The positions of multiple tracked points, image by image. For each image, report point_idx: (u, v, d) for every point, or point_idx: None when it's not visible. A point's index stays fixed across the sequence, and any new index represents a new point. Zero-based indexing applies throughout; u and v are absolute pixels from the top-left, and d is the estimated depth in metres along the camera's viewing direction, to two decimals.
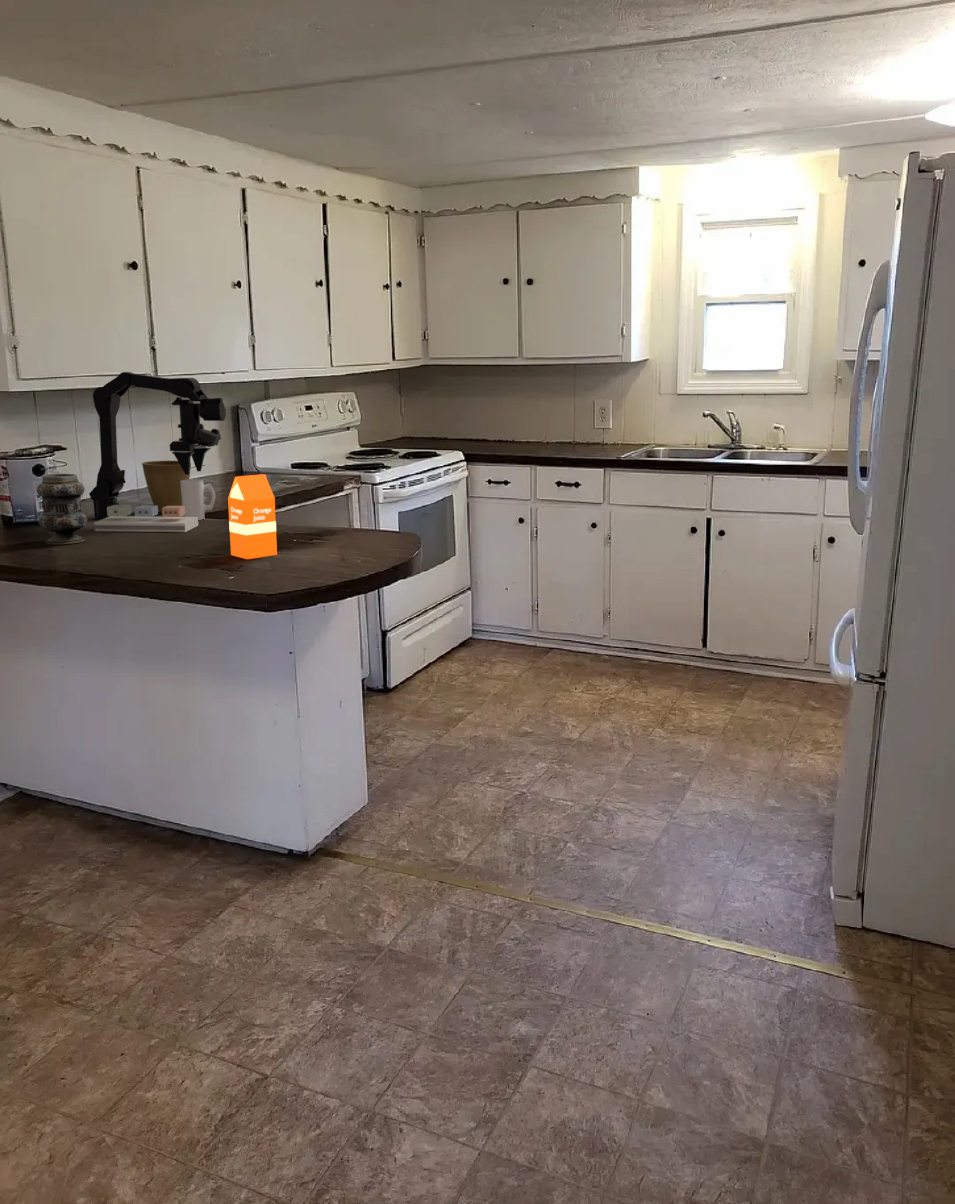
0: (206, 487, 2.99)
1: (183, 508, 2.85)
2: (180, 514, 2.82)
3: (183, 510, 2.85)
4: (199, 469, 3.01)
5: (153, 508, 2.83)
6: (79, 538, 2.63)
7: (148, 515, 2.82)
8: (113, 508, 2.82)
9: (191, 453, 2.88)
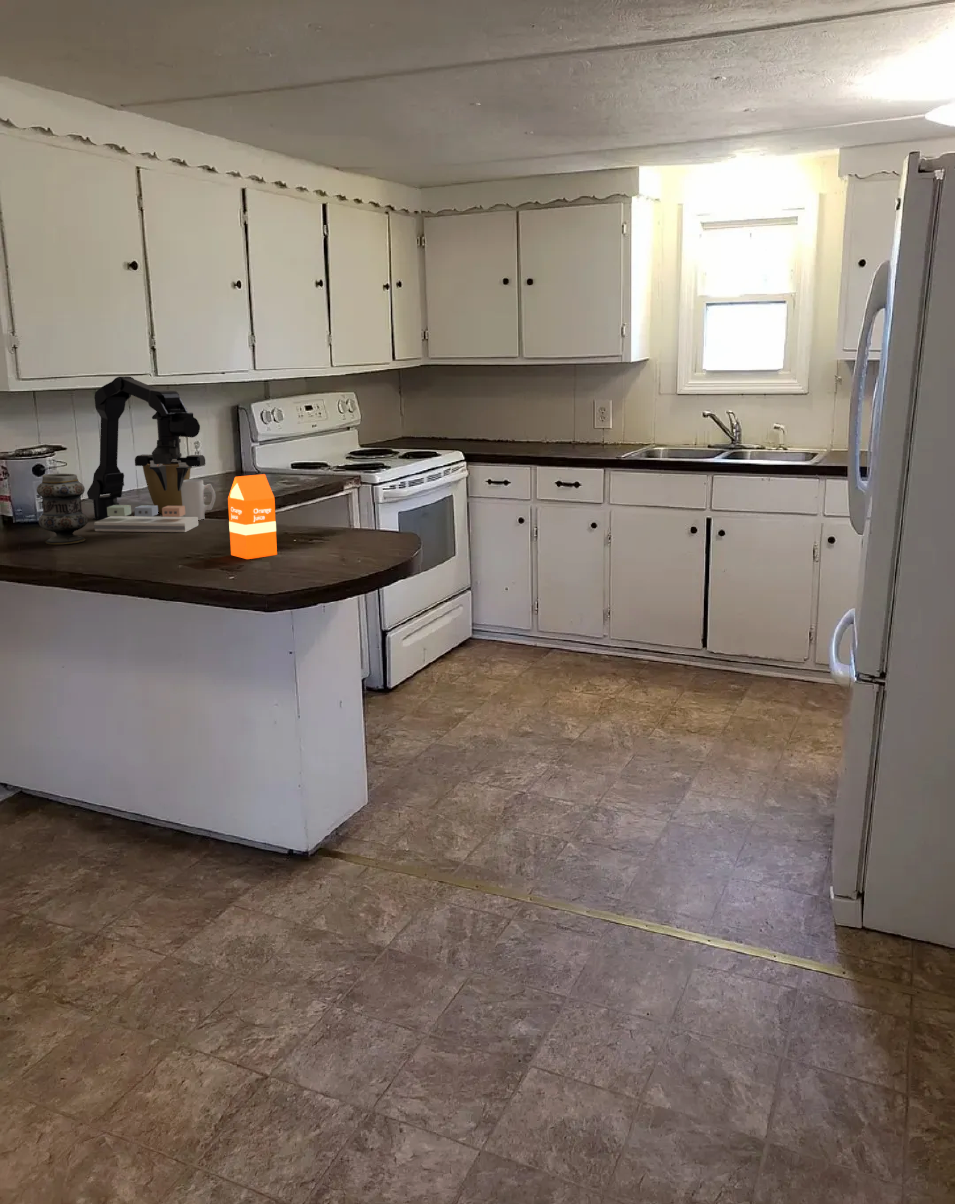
0: (206, 487, 2.99)
1: (183, 508, 2.85)
2: (180, 514, 2.82)
3: (183, 510, 2.85)
4: None
5: (153, 508, 2.83)
6: (79, 538, 2.63)
7: (148, 515, 2.82)
8: (113, 508, 2.82)
9: (152, 468, 2.78)
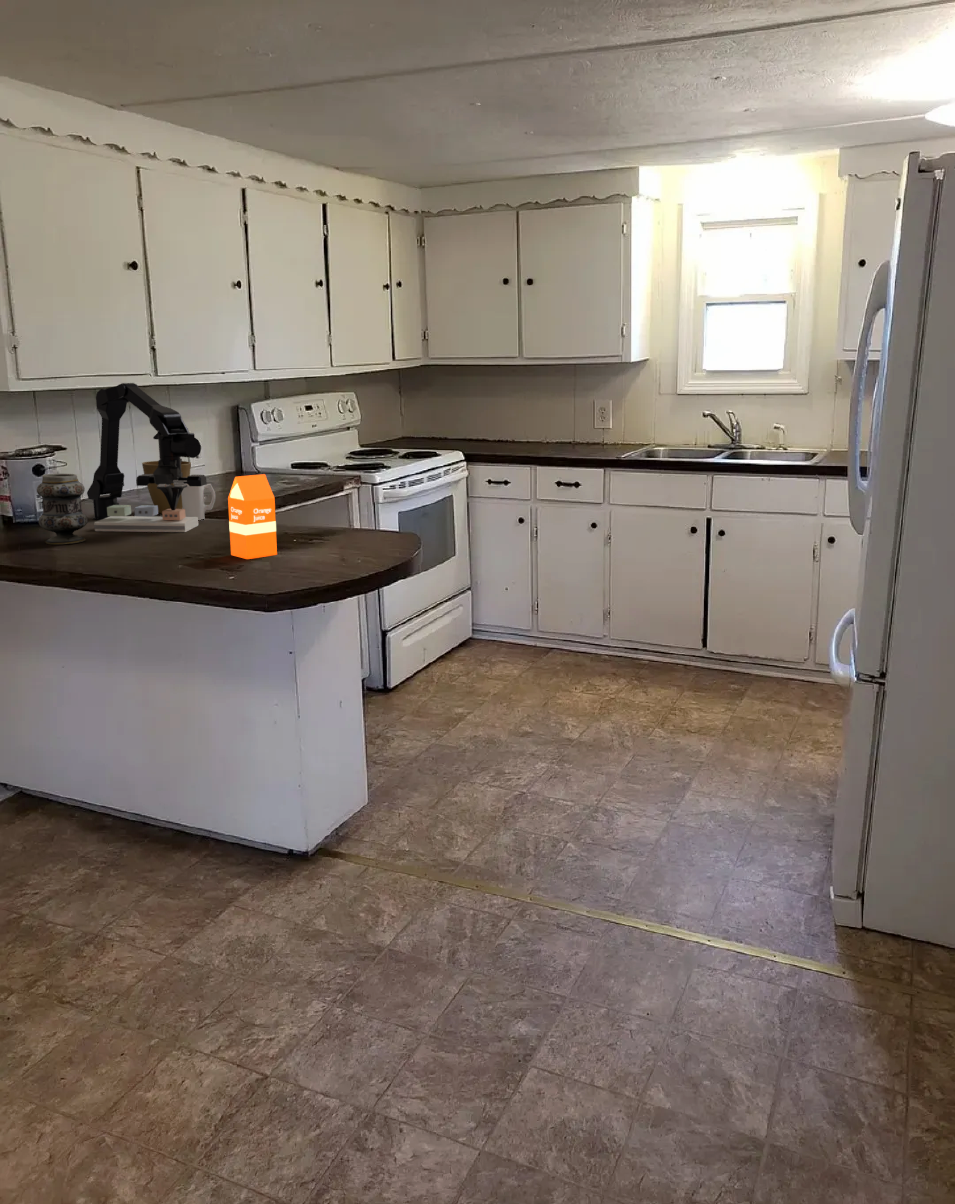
0: (206, 487, 2.99)
1: (183, 511, 2.85)
2: (180, 517, 2.82)
3: (183, 514, 2.85)
4: None
5: (153, 508, 2.83)
6: (79, 538, 2.63)
7: (148, 515, 2.82)
8: (113, 508, 2.82)
9: (159, 488, 2.80)
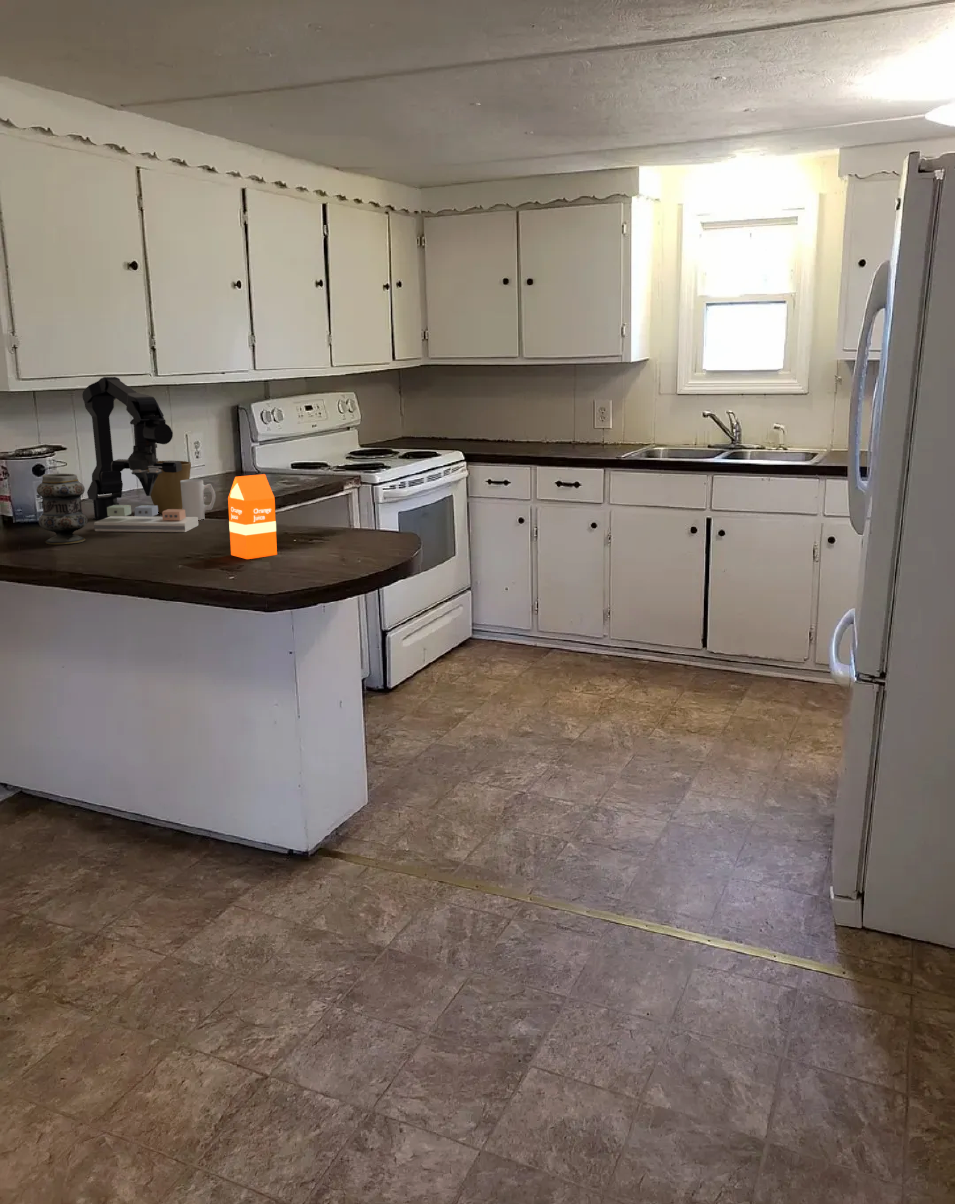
0: (206, 487, 2.99)
1: (183, 512, 2.85)
2: (180, 518, 2.82)
3: (183, 514, 2.85)
4: None
5: (153, 508, 2.83)
6: (79, 538, 2.63)
7: (148, 515, 2.82)
8: (113, 508, 2.82)
9: (134, 474, 2.79)
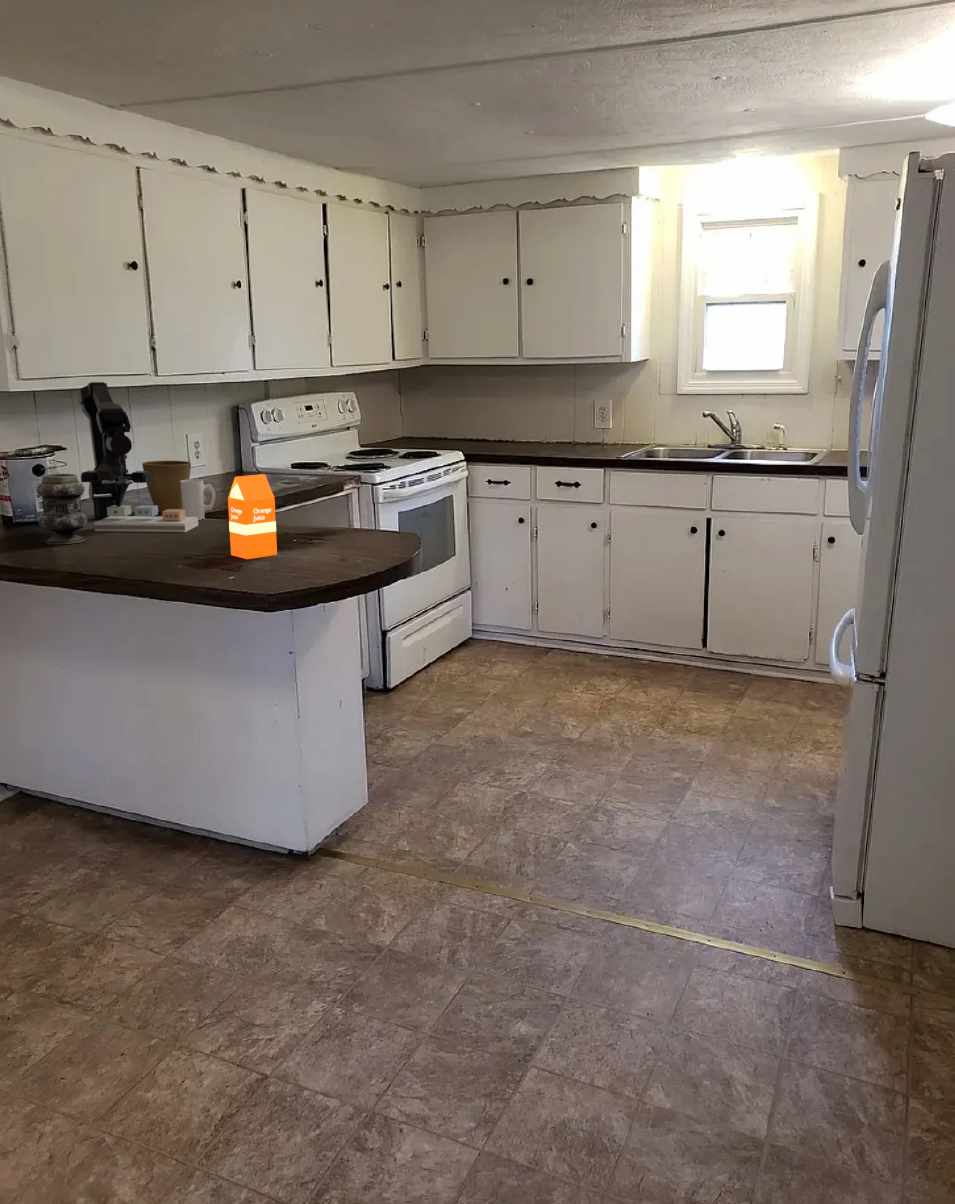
0: (206, 487, 2.99)
1: (183, 512, 2.85)
2: (180, 518, 2.82)
3: (183, 514, 2.85)
4: None
5: (153, 508, 2.83)
6: (79, 538, 2.63)
7: (148, 515, 2.82)
8: (113, 508, 2.82)
9: (103, 485, 2.80)
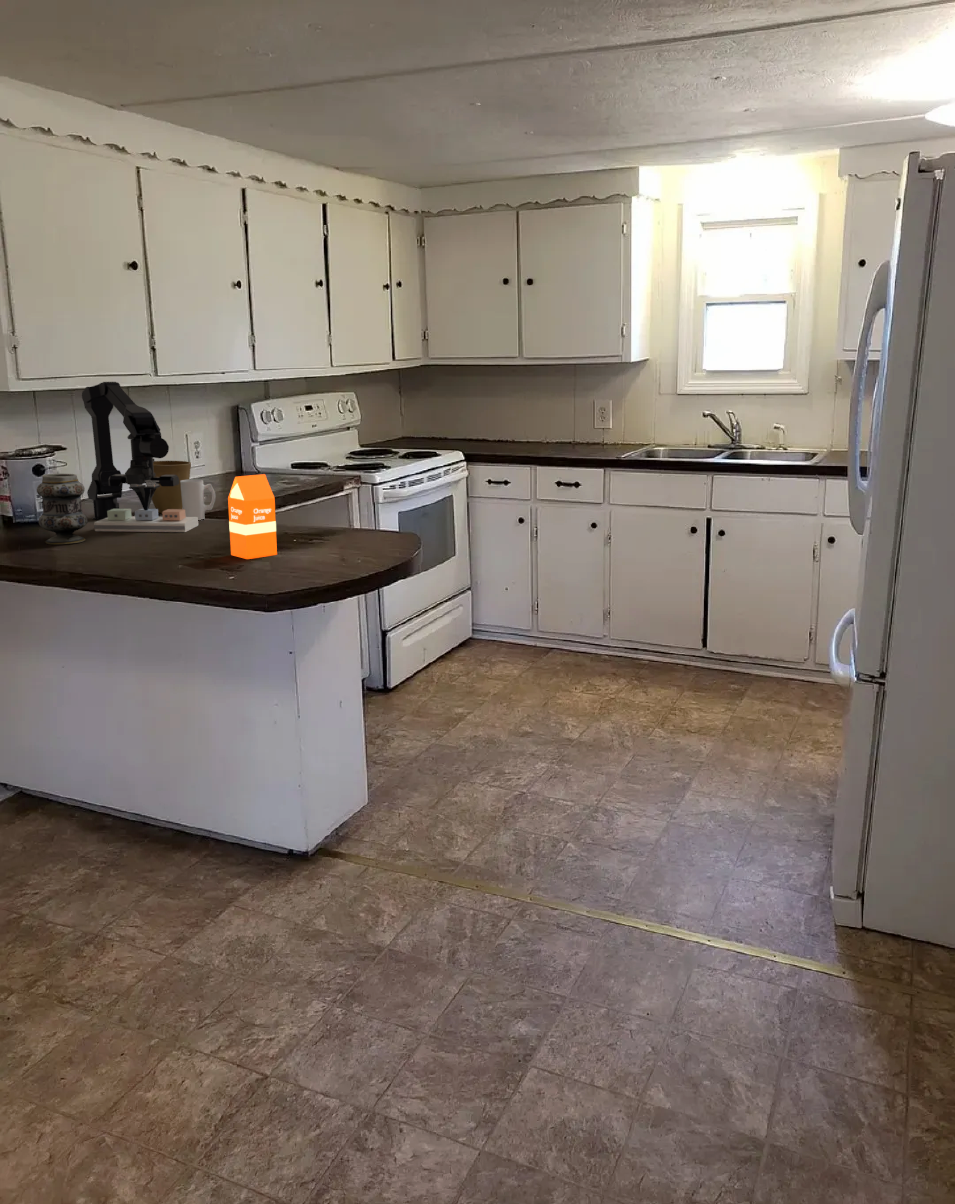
0: (206, 487, 2.99)
1: (183, 512, 2.85)
2: (180, 518, 2.82)
3: (183, 514, 2.85)
4: None
5: (153, 511, 2.83)
6: (79, 538, 2.63)
7: (148, 518, 2.82)
8: (113, 512, 2.82)
9: (131, 488, 2.80)
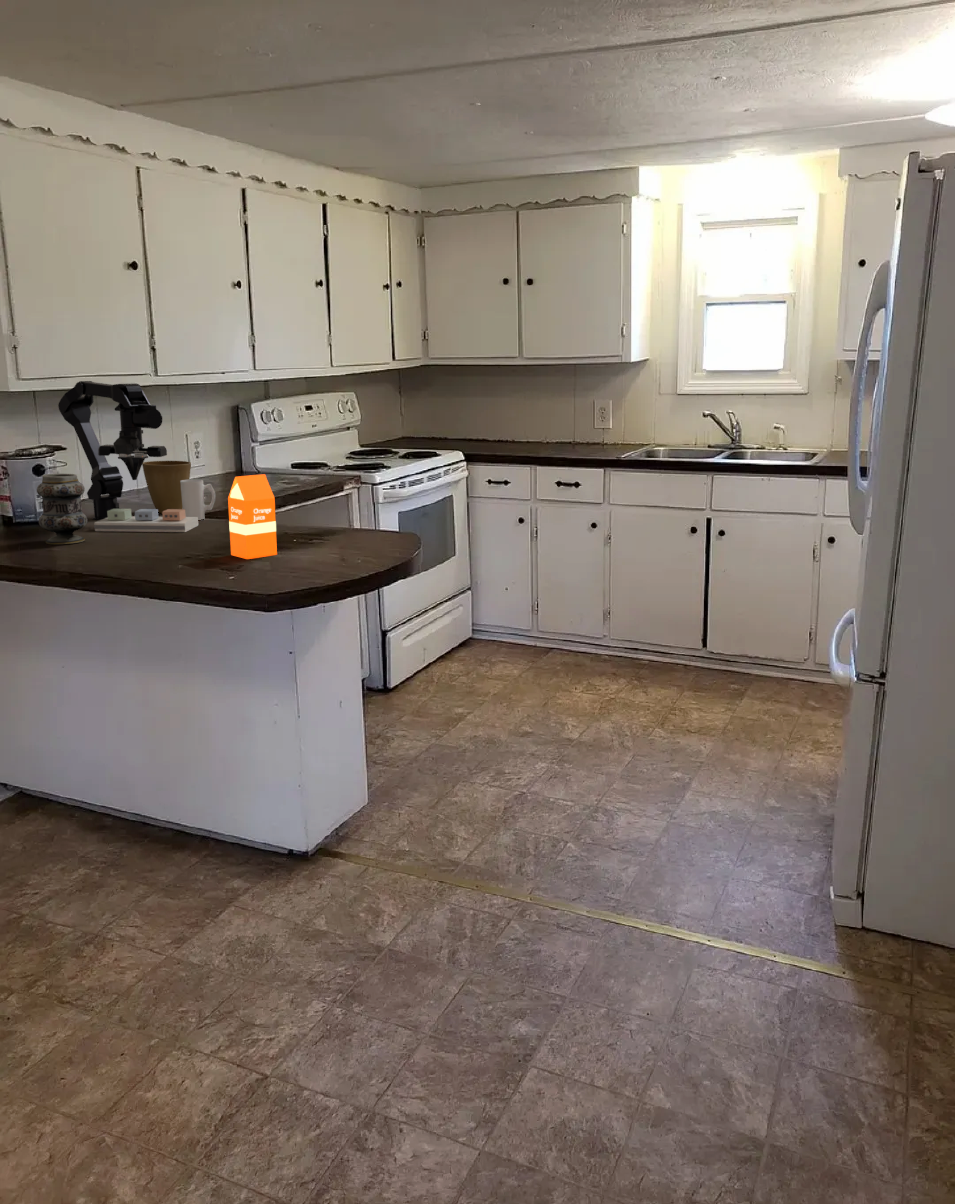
0: (206, 487, 2.99)
1: (183, 512, 2.85)
2: (180, 518, 2.82)
3: (183, 514, 2.85)
4: None
5: (153, 512, 2.83)
6: (79, 538, 2.63)
7: (148, 519, 2.82)
8: (113, 512, 2.82)
9: (120, 458, 2.88)
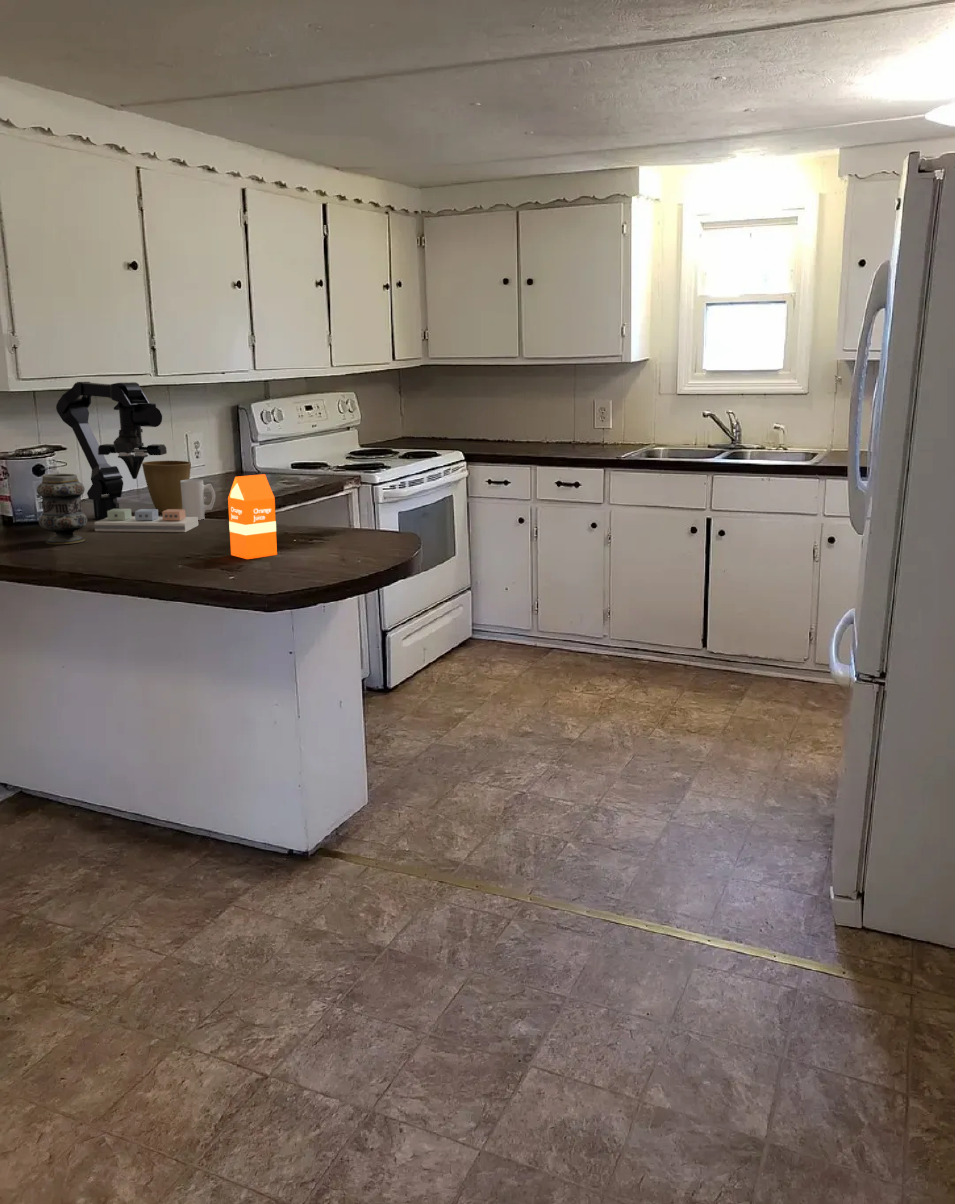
0: (206, 487, 2.99)
1: (183, 512, 2.85)
2: (180, 518, 2.82)
3: (183, 514, 2.85)
4: None
5: (153, 512, 2.83)
6: (79, 538, 2.63)
7: (148, 519, 2.82)
8: (113, 512, 2.82)
9: (120, 457, 2.89)
